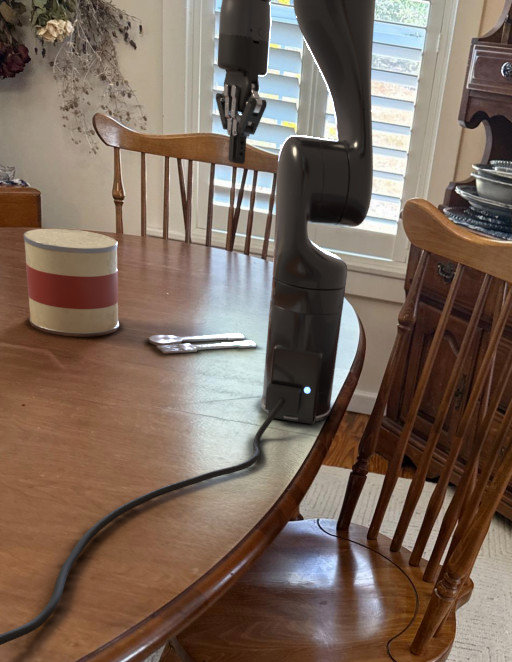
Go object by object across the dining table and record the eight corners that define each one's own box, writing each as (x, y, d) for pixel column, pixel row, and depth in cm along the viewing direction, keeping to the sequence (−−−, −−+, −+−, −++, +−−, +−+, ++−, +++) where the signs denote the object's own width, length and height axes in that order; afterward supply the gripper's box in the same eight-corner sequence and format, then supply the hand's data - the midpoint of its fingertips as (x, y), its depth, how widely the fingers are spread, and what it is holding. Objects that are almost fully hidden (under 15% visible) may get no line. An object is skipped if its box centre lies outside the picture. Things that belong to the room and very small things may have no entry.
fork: (249, 342, 127) (250, 339, 127) (257, 348, 125) (258, 345, 125) (156, 348, 118) (156, 345, 117) (163, 354, 116) (163, 350, 116)
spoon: (236, 334, 130) (236, 331, 130) (247, 341, 127) (248, 338, 127) (145, 338, 121) (145, 335, 121) (155, 346, 118) (155, 343, 118)
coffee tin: (109, 341, 117) (107, 252, 111) (18, 330, 115) (11, 240, 109) (125, 317, 129) (124, 236, 122) (43, 307, 127) (37, 224, 120)
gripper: (202, 30, 118) (197, 155, 125) (242, 30, 109) (234, 165, 116) (246, 40, 122) (238, 160, 130) (288, 41, 113) (277, 170, 121)
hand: (236, 162), depth 123 cm, fingers closed
